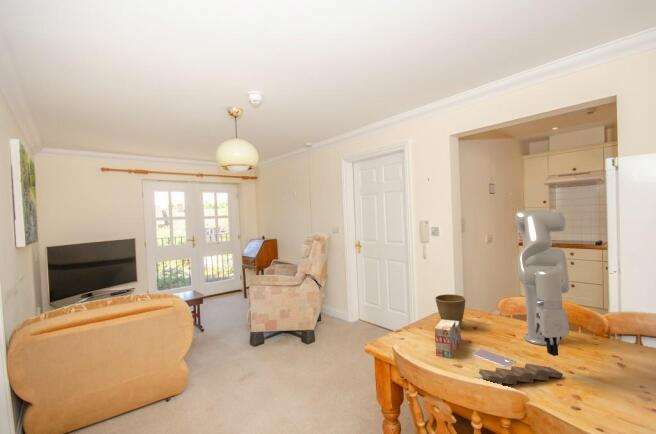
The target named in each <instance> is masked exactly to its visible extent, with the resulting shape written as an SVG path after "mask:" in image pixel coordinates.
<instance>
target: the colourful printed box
mask: <svg viewBox="0 0 656 434" xmlns="http://www.w3.org/2000/svg"><path fill="white" fill-rule="evenodd" d="M461 330H462V329H461V326H460V321H452V320H443V319H442V320H441V319H440V321H439V322H438V323H437V325H436V326H435V327H434V338H435V340H434V341H435V356H436V357H441V358H447V359H452V358H453V356H454V355H455V353H456V351H457V348H458V347H459V345H460V344H461V341H462V333H461Z"/></svg>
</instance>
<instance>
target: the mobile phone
mask: <svg viewBox="0 0 656 434" xmlns="http://www.w3.org/2000/svg"><path fill="white" fill-rule="evenodd" d="M471 355H472V356H474V357H476V358H480V359H481V360H485V361H486V362H491V363H492V364H495V365H498V366H501V367H502V368H503V367H504V368H507V367H509V366H512V365H513V364H515V363H516V361H515V359H511V358H508V357H505V356H503V355H501V354H497V353H495V352H492V351H488V350H485V349H478V350H476V351H474V352H472V353H471Z"/></svg>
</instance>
